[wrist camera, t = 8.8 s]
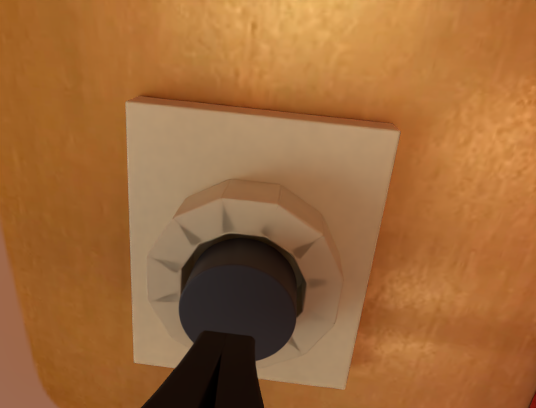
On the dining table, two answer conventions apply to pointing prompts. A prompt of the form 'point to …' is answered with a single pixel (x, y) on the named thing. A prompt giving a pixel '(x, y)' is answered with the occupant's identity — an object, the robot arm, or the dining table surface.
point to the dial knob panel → (256, 219)
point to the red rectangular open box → (533, 402)
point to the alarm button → (241, 294)
